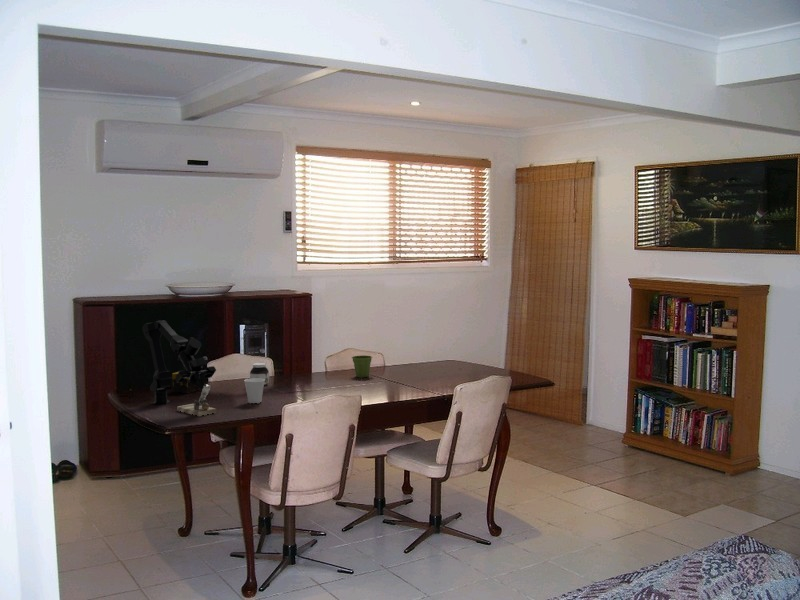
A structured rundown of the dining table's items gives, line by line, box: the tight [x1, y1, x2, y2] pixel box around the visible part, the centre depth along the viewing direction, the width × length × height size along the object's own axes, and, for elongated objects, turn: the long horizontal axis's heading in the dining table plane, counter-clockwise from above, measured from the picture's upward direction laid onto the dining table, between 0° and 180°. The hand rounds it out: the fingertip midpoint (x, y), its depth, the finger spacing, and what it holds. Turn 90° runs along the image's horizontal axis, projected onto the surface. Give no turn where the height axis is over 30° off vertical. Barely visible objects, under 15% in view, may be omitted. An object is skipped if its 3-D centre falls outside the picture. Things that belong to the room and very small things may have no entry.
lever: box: [198, 383, 211, 406], centre depth 362 cm, size 3×3×11 cm
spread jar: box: [249, 362, 270, 387], centre depth 432 cm, size 12×11×12 cm
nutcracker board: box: [176, 398, 217, 417], centre depth 367 cm, size 18×9×6 cm, turn 48°
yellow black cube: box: [171, 371, 201, 394], centre depth 416 cm, size 10×10×10 cm
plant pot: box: [351, 355, 373, 379], centre depth 456 cm, size 12×12×11 cm
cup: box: [243, 378, 265, 404], centre depth 387 cm, size 10×10×11 cm
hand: (203, 389), depth 362 cm, fingers closed, pressing on lever
